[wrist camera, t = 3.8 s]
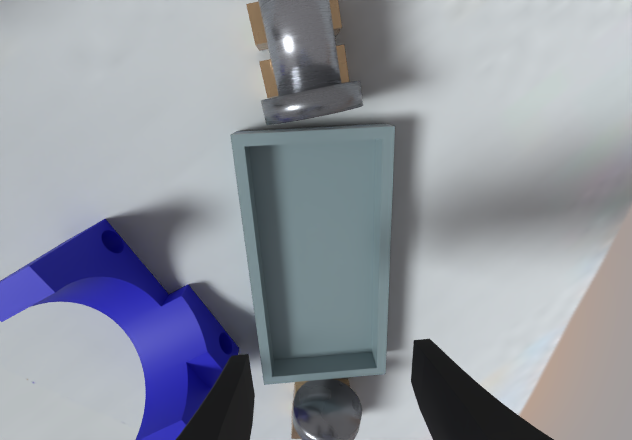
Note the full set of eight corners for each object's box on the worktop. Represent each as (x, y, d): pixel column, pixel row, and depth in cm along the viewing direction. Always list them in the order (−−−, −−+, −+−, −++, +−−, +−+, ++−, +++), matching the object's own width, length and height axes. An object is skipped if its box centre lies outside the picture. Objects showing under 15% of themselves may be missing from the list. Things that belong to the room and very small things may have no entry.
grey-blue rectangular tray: (378, 353, 24) (385, 374, 22) (266, 362, 23) (264, 384, 21) (385, 123, 18) (394, 126, 16) (236, 131, 18) (230, 135, 16)
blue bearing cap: (239, 346, 23) (221, 426, 17) (186, 372, 23) (152, 457, 18) (127, 205, 19) (57, 249, 13) (66, 240, 19) (-26, 296, 14)
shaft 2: (293, 365, 24) (293, 438, 18) (352, 367, 24) (368, 438, 19) (289, 416, 25) (287, 494, 20) (344, 416, 26) (356, 494, 21)
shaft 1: (350, 104, 17) (373, 105, 12) (271, 120, 18) (262, 128, 12) (335, -3, 16) (355, -52, 11) (247, 15, 16) (225, -26, 11)
